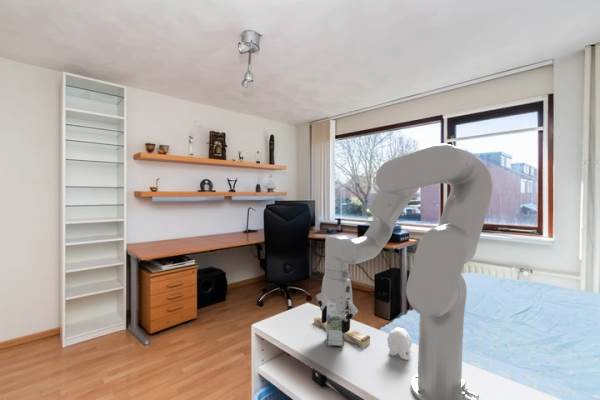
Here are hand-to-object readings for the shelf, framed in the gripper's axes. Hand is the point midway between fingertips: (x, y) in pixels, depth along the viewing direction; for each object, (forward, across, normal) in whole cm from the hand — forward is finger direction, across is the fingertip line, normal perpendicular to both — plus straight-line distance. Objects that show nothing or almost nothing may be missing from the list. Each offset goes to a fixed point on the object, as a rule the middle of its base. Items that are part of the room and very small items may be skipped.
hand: (335, 326), depth 90 cm
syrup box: (+5, 0, 0) cm, 5 cm away
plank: (+6, +3, -7) cm, 9 cm away
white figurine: (+6, -17, -12) cm, 21 cm away
